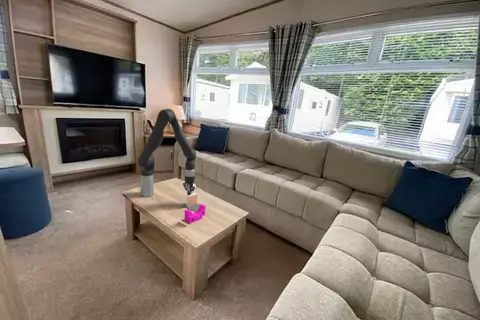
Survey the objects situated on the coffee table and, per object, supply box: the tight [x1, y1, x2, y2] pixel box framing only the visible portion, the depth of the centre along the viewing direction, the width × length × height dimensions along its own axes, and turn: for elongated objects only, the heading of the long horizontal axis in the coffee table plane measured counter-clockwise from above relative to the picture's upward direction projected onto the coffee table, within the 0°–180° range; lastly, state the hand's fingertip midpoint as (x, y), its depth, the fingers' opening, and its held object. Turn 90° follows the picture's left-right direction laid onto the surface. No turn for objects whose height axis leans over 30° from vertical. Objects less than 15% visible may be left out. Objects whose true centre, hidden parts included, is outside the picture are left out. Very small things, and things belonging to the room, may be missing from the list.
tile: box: [185, 192, 198, 207], centre depth 167 cm, size 2×9×8 cm, turn 147°
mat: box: [182, 203, 207, 212], centre depth 166 cm, size 14×12×1 cm
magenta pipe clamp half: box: [183, 203, 206, 224], centre depth 148 cm, size 15×6×8 cm, turn 141°
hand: (189, 195), depth 168 cm, fingers closed
